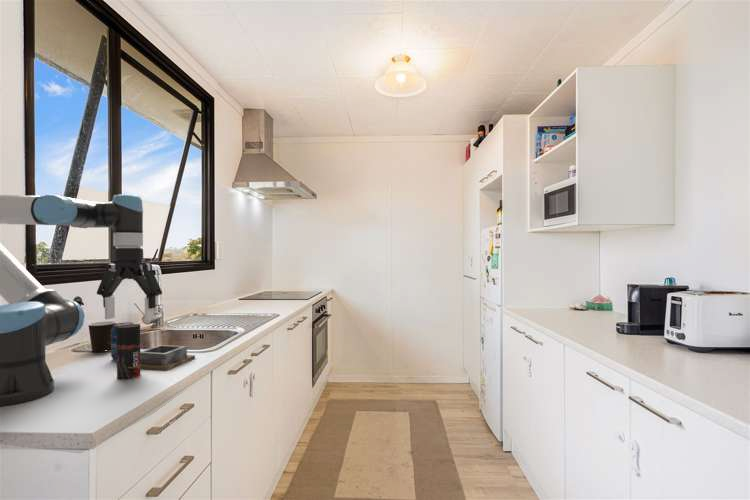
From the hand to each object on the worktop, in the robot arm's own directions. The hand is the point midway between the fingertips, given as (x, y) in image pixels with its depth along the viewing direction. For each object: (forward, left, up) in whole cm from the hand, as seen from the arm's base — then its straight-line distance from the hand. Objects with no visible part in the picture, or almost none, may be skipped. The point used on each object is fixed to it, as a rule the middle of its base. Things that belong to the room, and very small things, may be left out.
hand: (129, 319), depth 118 cm
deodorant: (0, 0, -17) cm, 17 cm away
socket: (+14, 0, -17) cm, 22 cm away
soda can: (+16, +17, -17) cm, 29 cm away
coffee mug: (+26, +34, -17) cm, 46 cm away
